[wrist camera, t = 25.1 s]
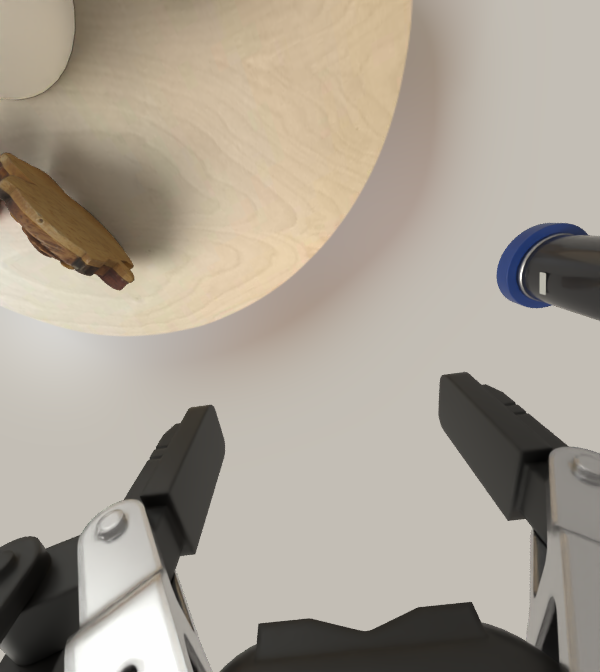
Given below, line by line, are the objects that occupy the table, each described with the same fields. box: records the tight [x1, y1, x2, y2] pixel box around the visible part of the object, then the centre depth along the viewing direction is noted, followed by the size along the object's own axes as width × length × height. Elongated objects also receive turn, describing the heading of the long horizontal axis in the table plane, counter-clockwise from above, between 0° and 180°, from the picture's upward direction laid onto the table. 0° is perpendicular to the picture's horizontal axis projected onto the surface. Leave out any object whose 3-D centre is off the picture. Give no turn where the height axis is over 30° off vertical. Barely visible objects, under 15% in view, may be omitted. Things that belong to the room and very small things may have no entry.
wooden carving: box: [0, 153, 134, 290], centre depth 31 cm, size 16×5×10 cm, turn 43°
